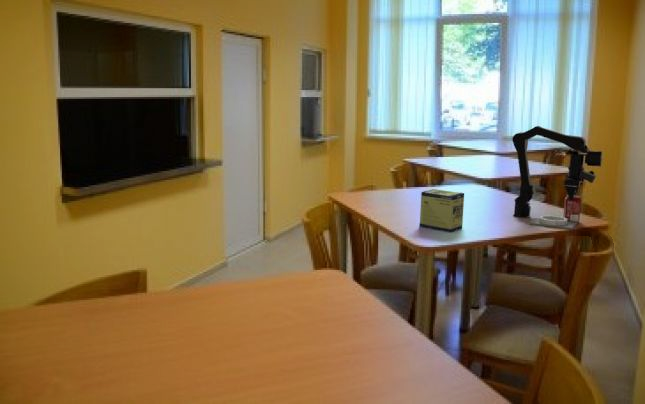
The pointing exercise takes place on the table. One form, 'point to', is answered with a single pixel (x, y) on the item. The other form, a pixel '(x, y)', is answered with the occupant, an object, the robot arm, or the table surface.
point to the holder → (553, 222)
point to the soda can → (572, 209)
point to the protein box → (441, 210)
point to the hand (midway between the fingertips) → (572, 199)
